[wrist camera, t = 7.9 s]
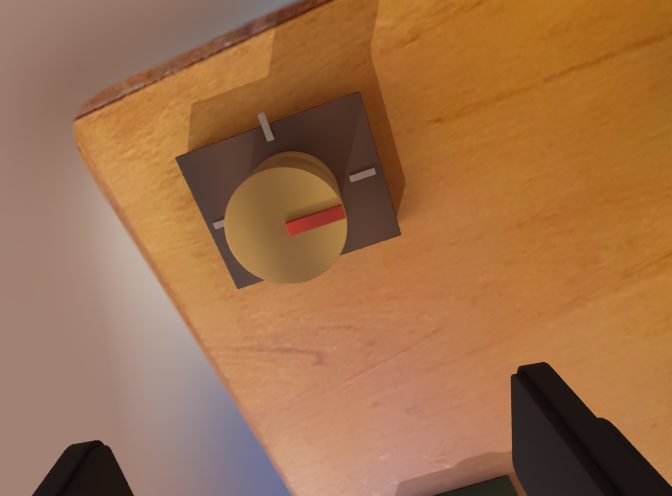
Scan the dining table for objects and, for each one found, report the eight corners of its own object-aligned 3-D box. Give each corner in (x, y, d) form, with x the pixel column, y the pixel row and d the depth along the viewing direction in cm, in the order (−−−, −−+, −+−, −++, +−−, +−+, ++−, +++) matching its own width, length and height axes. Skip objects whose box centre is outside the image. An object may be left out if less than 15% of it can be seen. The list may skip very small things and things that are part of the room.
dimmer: (247, 283, 25) (240, 299, 23) (181, 142, 22) (167, 146, 20) (397, 233, 24) (405, 245, 22) (352, 81, 21) (356, 78, 19)
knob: (267, 253, 22) (251, 302, 17) (231, 168, 20) (201, 192, 15) (351, 226, 22) (363, 266, 16) (322, 137, 20) (325, 150, 15)
